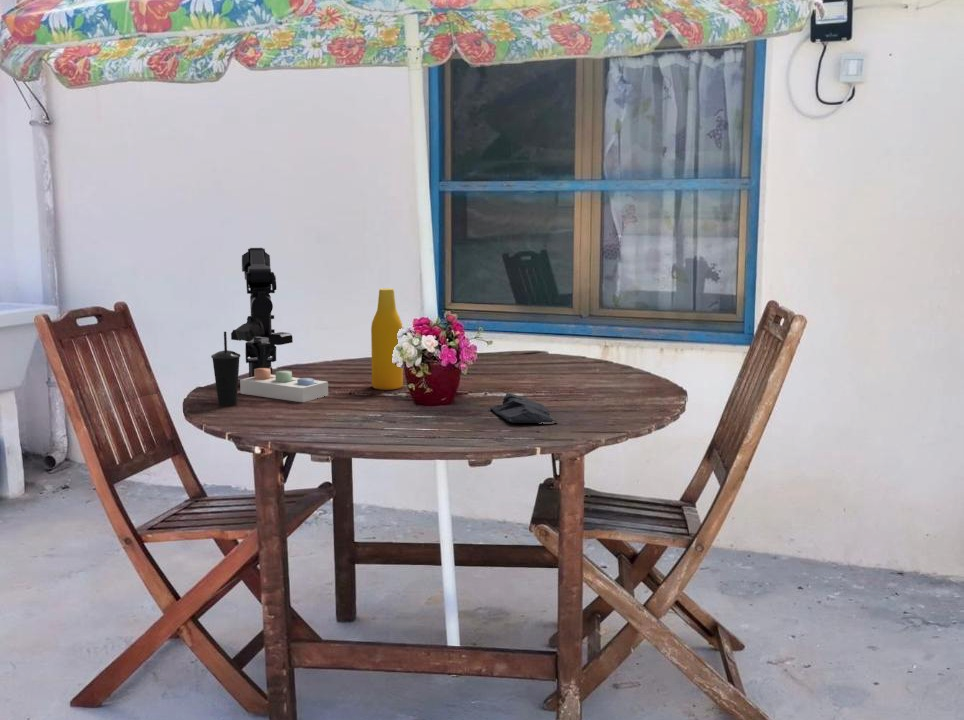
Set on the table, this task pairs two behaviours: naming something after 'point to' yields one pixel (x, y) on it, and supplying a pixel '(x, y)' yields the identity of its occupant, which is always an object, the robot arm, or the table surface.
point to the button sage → (283, 376)
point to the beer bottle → (385, 343)
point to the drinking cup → (226, 375)
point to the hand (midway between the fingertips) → (262, 366)
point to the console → (283, 389)
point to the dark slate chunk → (522, 410)
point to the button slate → (305, 381)
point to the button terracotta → (262, 373)
